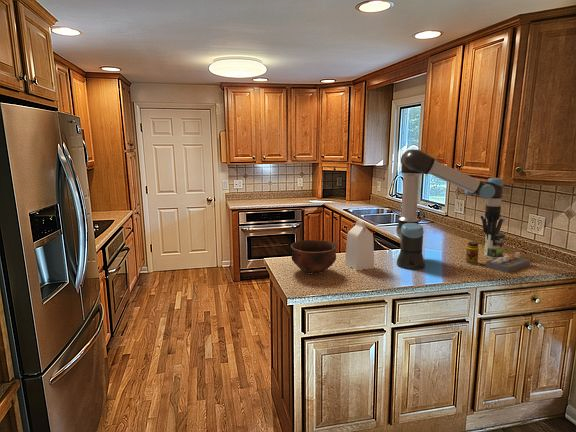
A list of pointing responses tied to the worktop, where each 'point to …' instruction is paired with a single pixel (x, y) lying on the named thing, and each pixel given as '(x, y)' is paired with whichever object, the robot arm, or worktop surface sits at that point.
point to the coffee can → (495, 247)
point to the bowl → (313, 255)
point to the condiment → (472, 254)
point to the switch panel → (508, 264)
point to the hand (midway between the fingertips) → (489, 245)
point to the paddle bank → (508, 258)
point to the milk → (360, 247)
